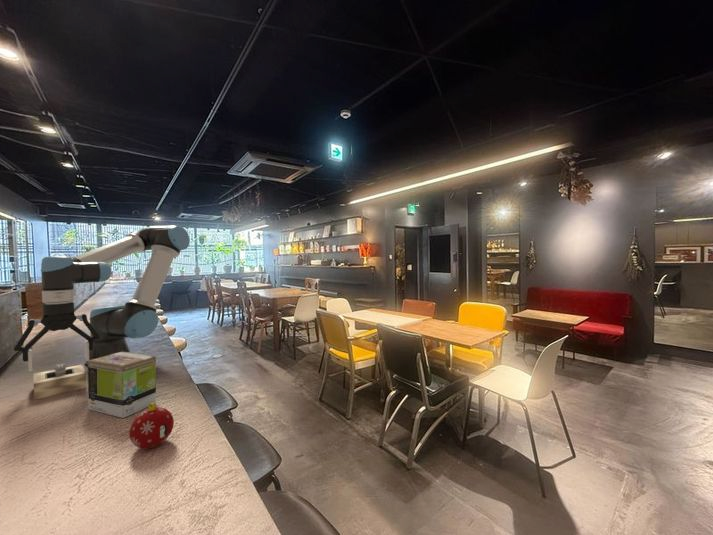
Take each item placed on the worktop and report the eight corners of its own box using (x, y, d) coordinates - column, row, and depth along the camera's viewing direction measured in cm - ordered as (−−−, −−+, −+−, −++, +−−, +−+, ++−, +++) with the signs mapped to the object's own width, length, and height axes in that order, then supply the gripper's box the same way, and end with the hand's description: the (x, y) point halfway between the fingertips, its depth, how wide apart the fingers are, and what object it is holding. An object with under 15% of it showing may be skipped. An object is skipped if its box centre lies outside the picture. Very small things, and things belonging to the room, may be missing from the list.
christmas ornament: (162, 430, 76) (161, 392, 76) (181, 441, 71) (180, 400, 71) (122, 449, 68) (121, 406, 68) (140, 462, 64) (140, 416, 64)
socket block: (82, 378, 109) (82, 364, 109) (86, 387, 101) (85, 373, 101) (33, 388, 100) (33, 373, 100) (33, 399, 92) (33, 383, 92)
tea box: (157, 403, 90) (157, 355, 90) (122, 419, 81) (121, 366, 81) (123, 395, 95) (123, 349, 95) (86, 410, 86) (85, 359, 86)
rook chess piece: (58, 391, 98) (58, 367, 98) (47, 390, 99) (47, 366, 99) (73, 385, 102) (73, 362, 102) (63, 384, 103) (62, 361, 103)
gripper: (-1, 308, 88) (2, 379, 89) (108, 299, 106) (109, 358, 107) (1, 305, 93) (3, 372, 94) (105, 297, 111) (106, 353, 112)
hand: (60, 365), depth 100 cm, fingers open, 13 cm apart
